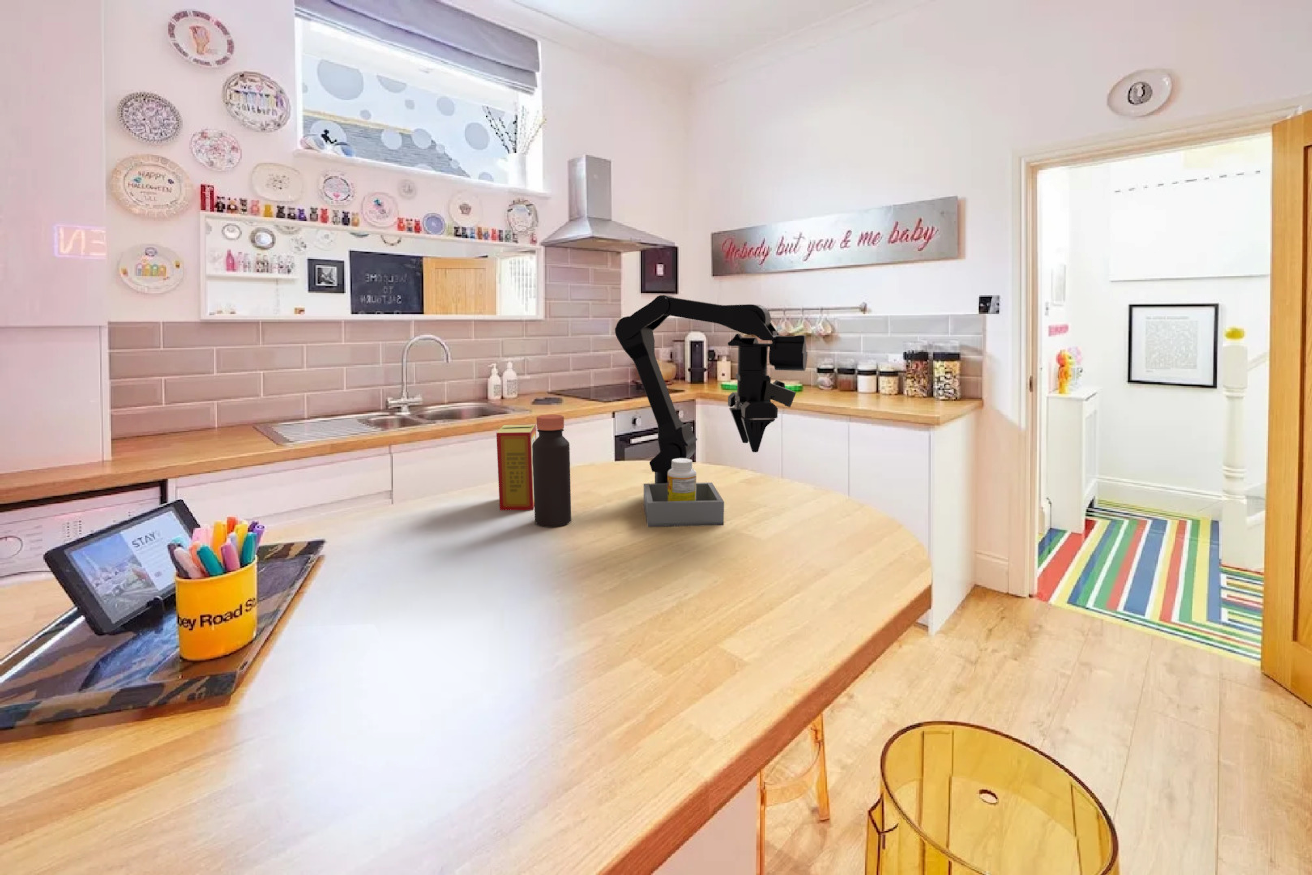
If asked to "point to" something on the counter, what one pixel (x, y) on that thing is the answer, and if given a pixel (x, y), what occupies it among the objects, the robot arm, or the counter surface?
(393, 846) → the counter surface
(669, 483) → the supplement bottle
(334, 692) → the counter surface
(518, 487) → the baking soda box
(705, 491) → the box
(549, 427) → the vinegar
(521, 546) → the counter surface
